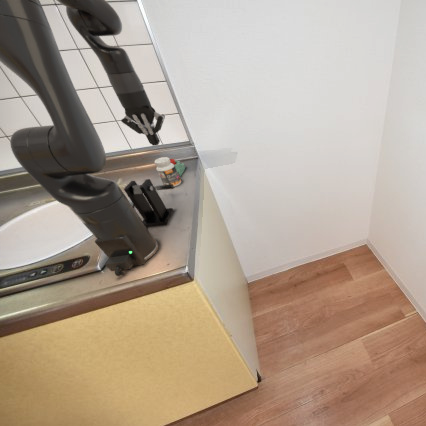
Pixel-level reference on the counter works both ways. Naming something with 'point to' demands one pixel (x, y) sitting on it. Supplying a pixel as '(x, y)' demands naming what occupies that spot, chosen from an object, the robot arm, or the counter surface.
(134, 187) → the lever
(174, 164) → the stop button
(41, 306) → the counter surface
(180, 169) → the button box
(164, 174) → the pill bottle
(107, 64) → the robot arm
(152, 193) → the bracket
